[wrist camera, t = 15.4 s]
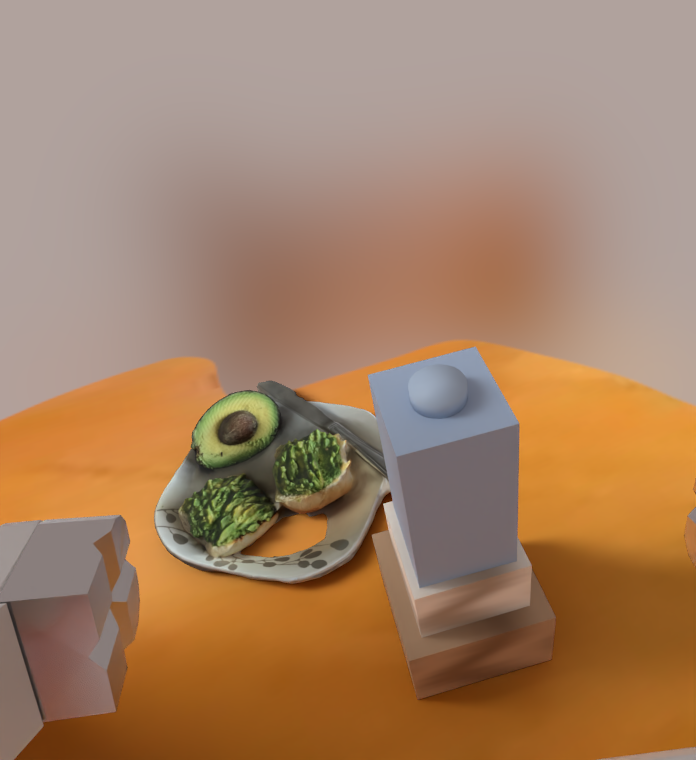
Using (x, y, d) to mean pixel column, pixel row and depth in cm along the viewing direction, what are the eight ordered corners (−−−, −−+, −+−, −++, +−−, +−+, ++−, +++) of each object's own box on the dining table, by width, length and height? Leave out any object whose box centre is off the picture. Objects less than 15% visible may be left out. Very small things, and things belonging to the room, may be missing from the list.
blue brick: (419, 587, 32) (393, 443, 25) (394, 508, 36) (365, 361, 29) (516, 561, 32) (519, 409, 25) (481, 484, 36) (474, 332, 29)
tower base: (417, 699, 37) (400, 624, 31) (382, 577, 43) (361, 494, 37) (551, 659, 37) (560, 577, 31) (498, 544, 43) (496, 456, 37)
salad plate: (451, 421, 52) (447, 379, 49) (383, 626, 41) (373, 588, 38) (242, 390, 59) (227, 351, 56) (133, 558, 48) (107, 521, 45)
